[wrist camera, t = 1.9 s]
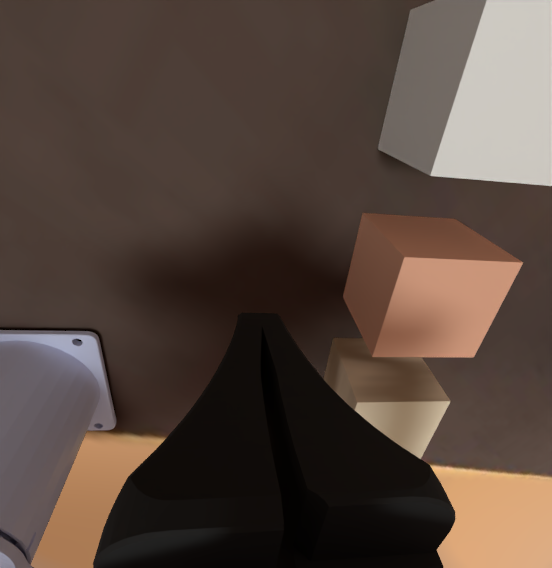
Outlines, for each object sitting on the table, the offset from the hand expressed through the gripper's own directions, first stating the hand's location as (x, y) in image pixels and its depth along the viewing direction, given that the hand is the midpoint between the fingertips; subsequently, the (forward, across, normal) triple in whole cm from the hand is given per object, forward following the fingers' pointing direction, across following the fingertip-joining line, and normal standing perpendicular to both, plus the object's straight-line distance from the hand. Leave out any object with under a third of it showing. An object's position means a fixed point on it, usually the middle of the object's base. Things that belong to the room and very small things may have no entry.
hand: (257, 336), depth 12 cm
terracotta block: (+7, -8, 0) cm, 10 cm away
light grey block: (+7, -8, -8) cm, 13 cm away
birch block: (+7, -8, +8) cm, 13 cm away
